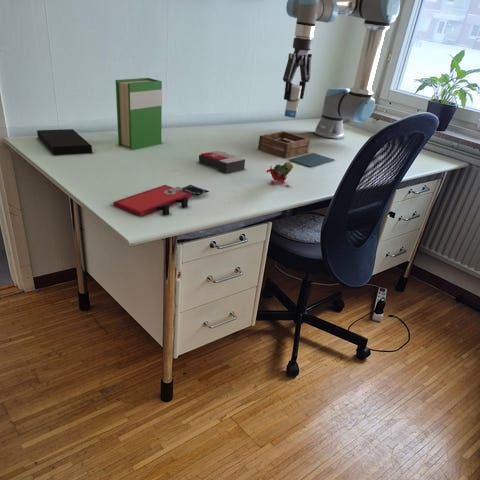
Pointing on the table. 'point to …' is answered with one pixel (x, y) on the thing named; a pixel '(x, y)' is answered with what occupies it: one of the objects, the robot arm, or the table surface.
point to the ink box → (293, 101)
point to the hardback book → (139, 112)
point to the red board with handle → (158, 199)
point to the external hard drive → (64, 142)
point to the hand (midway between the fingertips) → (293, 99)
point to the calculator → (222, 161)
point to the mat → (311, 160)
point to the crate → (283, 144)
